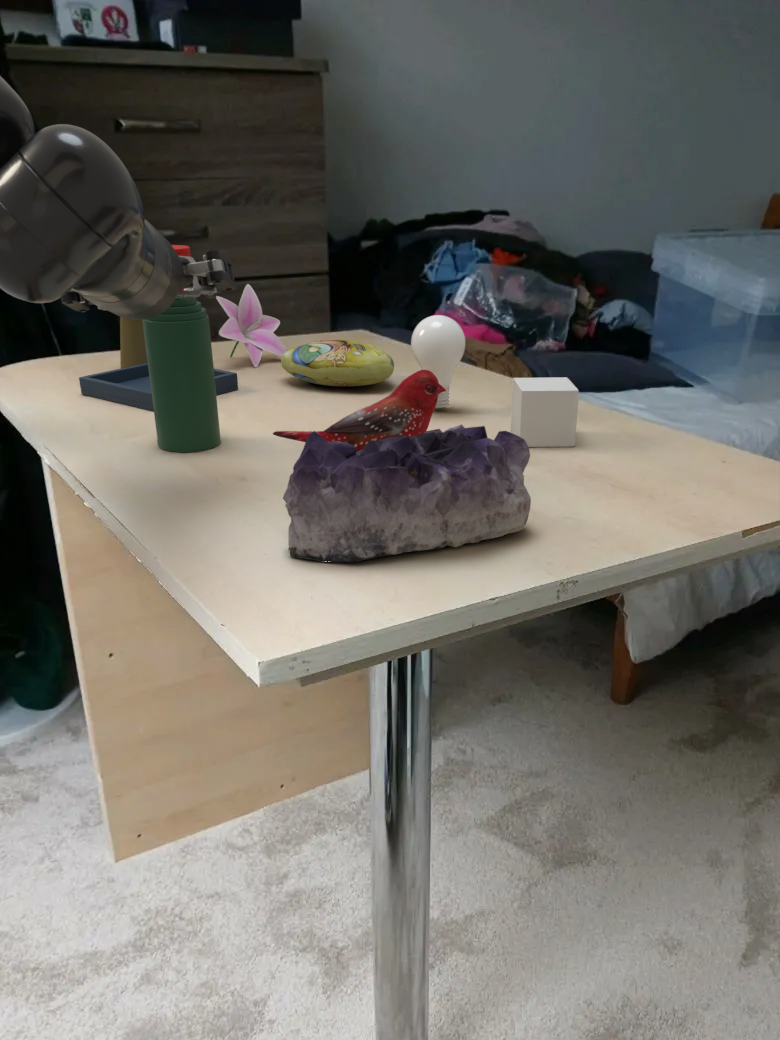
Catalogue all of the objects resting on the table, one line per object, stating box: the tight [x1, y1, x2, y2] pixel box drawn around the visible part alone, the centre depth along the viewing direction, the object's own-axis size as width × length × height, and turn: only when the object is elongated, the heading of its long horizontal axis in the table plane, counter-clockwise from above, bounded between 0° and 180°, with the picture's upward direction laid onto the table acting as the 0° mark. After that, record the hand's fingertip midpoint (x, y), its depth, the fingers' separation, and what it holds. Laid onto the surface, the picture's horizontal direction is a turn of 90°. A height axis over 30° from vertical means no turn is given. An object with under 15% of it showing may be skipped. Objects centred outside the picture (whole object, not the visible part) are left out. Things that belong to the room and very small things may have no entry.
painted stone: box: [280, 339, 395, 388], centre depth 123 cm, size 11×8×15 cm
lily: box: [215, 283, 287, 368], centre depth 135 cm, size 12×12×10 cm
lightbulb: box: [410, 314, 467, 412], centre depth 110 cm, size 6×6×11 cm
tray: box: [78, 363, 239, 412], centre depth 119 cm, size 14×14×2 cm
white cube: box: [510, 376, 580, 448], centre depth 101 cm, size 6×6×6 cm
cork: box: [119, 316, 148, 369], centre depth 128 cm, size 6×6×11 cm
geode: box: [282, 423, 532, 563], centre depth 75 cm, size 20×12×10 cm, turn 119°
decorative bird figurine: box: [272, 369, 446, 452], centre depth 86 cm, size 3×18×10 cm, turn 122°
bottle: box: [142, 297, 222, 453], centre depth 95 cm, size 6×6×19 cm
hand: (165, 293), depth 89 cm, fingers open, 8 cm apart
